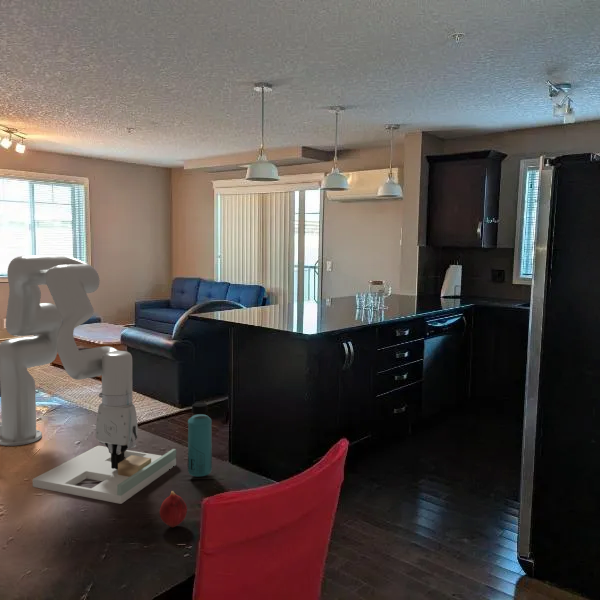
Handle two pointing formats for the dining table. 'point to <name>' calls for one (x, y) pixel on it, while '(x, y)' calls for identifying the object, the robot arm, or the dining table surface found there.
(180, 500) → the onion
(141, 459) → the block
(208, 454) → the beverage bottle
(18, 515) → the dining table surface
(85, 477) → the board
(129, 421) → the robot arm
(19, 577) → the dining table surface
